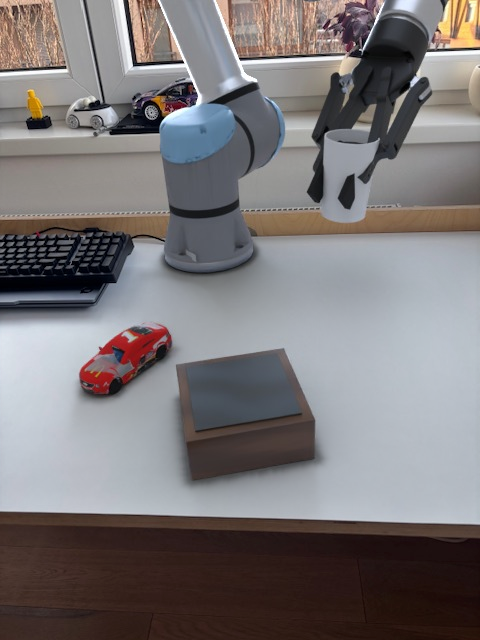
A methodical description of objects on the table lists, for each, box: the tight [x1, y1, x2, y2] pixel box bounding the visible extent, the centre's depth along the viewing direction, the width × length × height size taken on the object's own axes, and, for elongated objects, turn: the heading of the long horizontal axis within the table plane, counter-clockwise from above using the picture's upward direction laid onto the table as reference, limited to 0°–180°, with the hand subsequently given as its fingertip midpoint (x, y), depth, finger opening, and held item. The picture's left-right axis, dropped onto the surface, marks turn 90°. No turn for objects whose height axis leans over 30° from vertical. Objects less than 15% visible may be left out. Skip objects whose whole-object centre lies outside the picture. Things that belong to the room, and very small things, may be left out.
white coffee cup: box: [320, 128, 380, 224], centre depth 68 cm, size 7×7×10 cm
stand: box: [175, 347, 316, 481], centre depth 55 cm, size 12×12×5 cm
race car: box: [78, 321, 173, 395], centre depth 66 cm, size 13×5×4 cm, turn 143°
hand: (328, 200), depth 67 cm, fingers closed on white coffee cup, 4 cm apart
